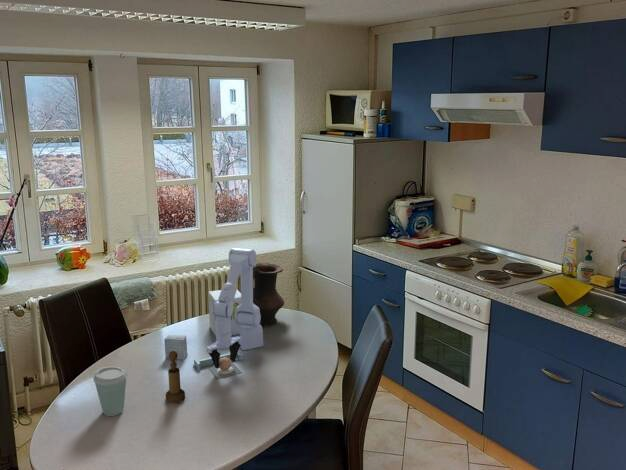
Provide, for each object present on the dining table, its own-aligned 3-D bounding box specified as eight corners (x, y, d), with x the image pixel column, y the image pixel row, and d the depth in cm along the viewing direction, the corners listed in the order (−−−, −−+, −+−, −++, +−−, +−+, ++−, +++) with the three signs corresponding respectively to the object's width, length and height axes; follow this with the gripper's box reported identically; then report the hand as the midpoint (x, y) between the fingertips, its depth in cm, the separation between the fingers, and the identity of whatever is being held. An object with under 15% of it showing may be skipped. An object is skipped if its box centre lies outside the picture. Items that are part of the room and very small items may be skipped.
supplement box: (216, 337, 255) (214, 300, 251) (209, 327, 267) (207, 291, 263) (245, 333, 260) (244, 296, 256) (237, 322, 272) (236, 287, 268)
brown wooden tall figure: (168, 405, 200) (165, 357, 196) (163, 397, 205) (160, 350, 201) (187, 401, 203) (184, 353, 199) (182, 392, 208) (179, 346, 204)
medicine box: (187, 354, 239) (186, 335, 237) (184, 359, 234) (183, 339, 232) (169, 354, 239) (167, 334, 237) (165, 358, 235) (164, 338, 233)
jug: (260, 312, 286) (258, 253, 278) (292, 319, 277) (291, 258, 270) (233, 326, 268) (231, 264, 261) (266, 334, 259) (265, 270, 252)
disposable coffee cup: (129, 401, 202) (125, 361, 199) (130, 417, 193) (127, 375, 189) (96, 406, 199) (92, 366, 195) (96, 423, 189) (92, 381, 186)
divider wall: (236, 355, 238) (236, 349, 238) (241, 360, 234) (241, 354, 234) (194, 364, 230) (193, 359, 229) (198, 369, 226) (197, 364, 225)
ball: (225, 365, 229) (225, 354, 228) (233, 370, 225) (233, 358, 224) (215, 369, 225) (215, 357, 224) (223, 373, 222) (223, 361, 221)
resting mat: (232, 362, 232) (232, 362, 232) (242, 372, 223) (242, 372, 223) (208, 368, 227) (208, 367, 227) (217, 378, 219) (217, 378, 219)
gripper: (232, 323, 229) (233, 355, 232) (201, 333, 219) (203, 366, 222) (243, 328, 224) (244, 360, 227) (212, 339, 214) (213, 373, 218)
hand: (224, 364), depth 225 cm, fingers open, 7 cm apart
